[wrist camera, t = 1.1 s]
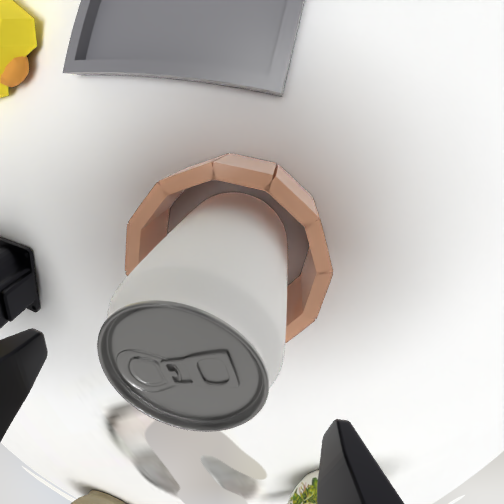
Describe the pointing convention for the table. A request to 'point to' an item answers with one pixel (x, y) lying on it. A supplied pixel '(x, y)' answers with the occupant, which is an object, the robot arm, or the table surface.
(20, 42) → the yellow faceted block
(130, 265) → the ring
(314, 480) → the pitcher
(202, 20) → the tray
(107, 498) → the planter bowl
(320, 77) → the table surface
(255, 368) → the can
